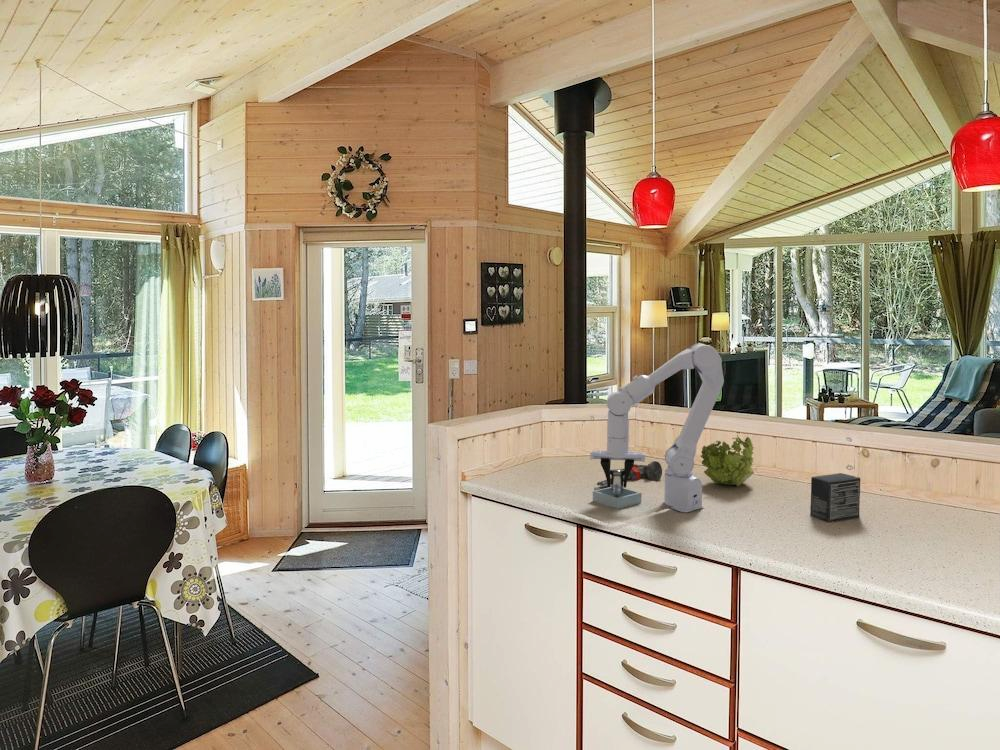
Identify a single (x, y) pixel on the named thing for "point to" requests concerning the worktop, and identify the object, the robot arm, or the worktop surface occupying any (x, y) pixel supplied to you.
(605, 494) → the bin
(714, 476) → the lettuce head
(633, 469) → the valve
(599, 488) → the plate
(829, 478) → the small box
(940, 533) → the worktop surface
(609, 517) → the worktop surface
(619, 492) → the metal capped cylinder
